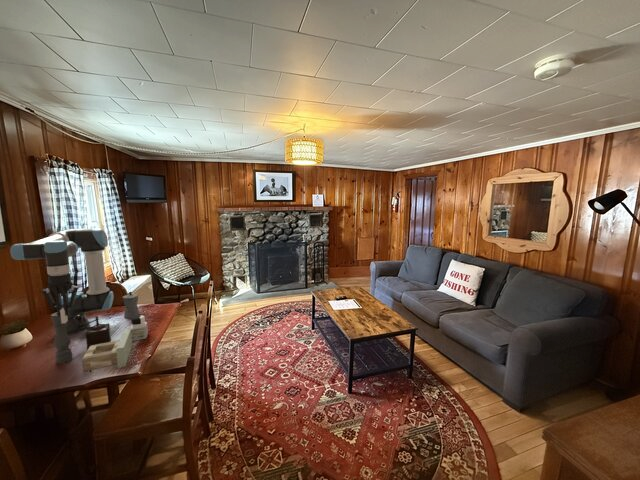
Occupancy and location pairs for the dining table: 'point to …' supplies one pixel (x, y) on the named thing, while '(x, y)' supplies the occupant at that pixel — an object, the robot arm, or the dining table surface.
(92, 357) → the socket block
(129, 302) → the coffeepot
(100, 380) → the dining table surface
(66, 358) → the candle holder
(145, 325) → the container
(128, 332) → the backstop wall
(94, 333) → the coffee grinder
